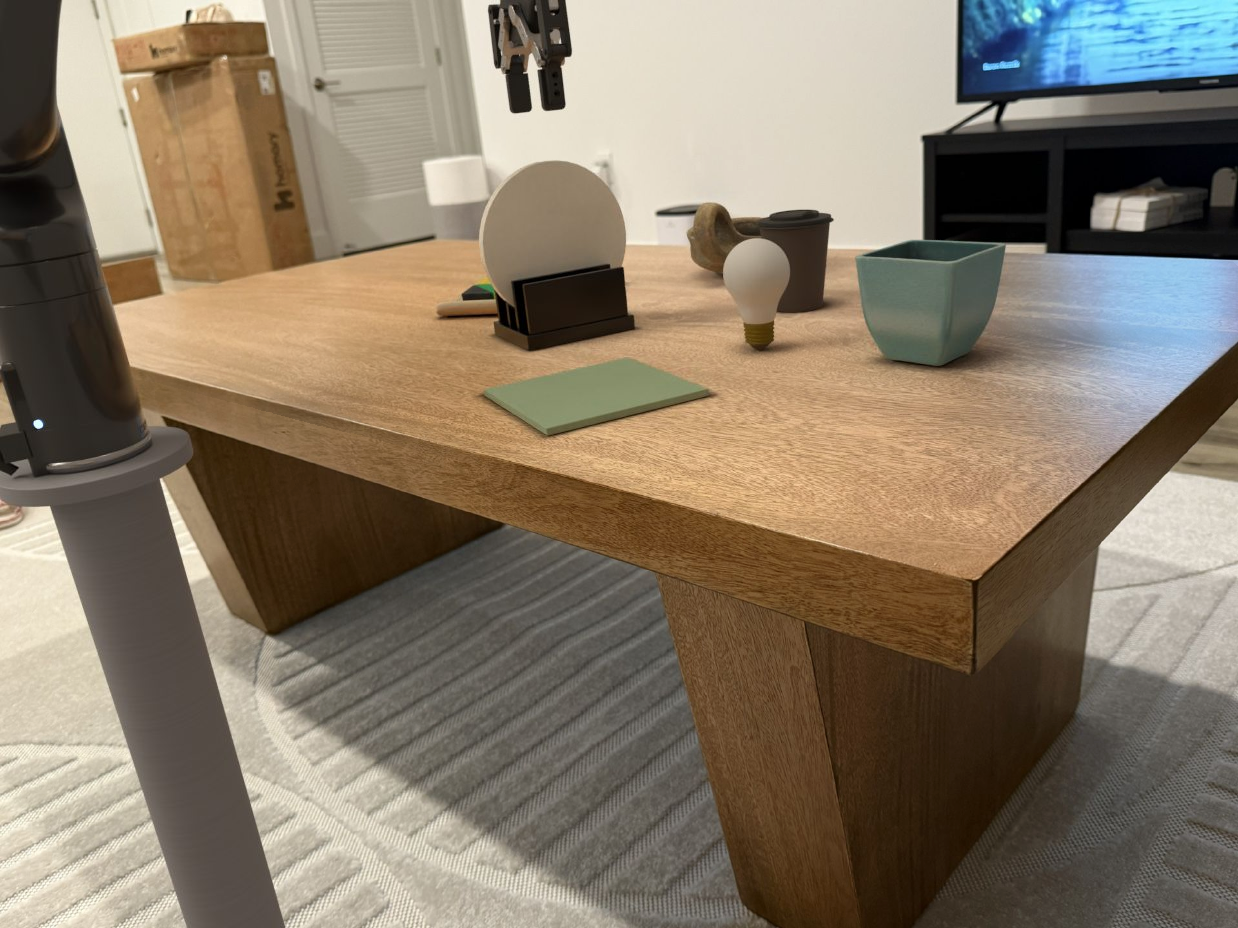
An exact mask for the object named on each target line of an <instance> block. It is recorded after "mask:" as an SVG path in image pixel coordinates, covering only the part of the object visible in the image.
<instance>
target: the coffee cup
mask: <svg viewBox="0 0 1238 928" xmlns="http://www.w3.org/2000/svg"><path fill="white" fill-rule="evenodd" d="M761 218H762V219H759V220H758V223H757V224H756V225H755V226H756V227H757V228H760V234H761V239H766V240H769V241H771V242H773V243H775V244H776V245H778V246H779V247H780V248H781V249H782V250H783V252H784V253H785V255H786V257H787V259H788V262H789V266H790V277H789V282H788V285H787V287H786V289H785V291H784V292H783V294H782V296H781V298H780V300H779V302H778V306H777V310H776V312H781V313H799V312H807V311H808V312H809V311H814V310H817V309H820V308H822V307H823V305H824V296H825V295H824V293H825V284H826V272H827V261H828V250H829V237H830V225H831V223H833V222H834V221H835V219H834V218H833V217H832V214H830V213H827V212H820V211H819V210H817V209H791V210H790V209H789V210H781V211H777V212H773V213H771V214H769V216H765V217H761Z"/></svg>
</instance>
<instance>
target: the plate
mask: <svg viewBox="0 0 1238 928" xmlns="http://www.w3.org/2000/svg"><path fill="white" fill-rule="evenodd" d="M478 234H479V235H478V246H479V247H478V249H479V255H480V260H481V264H482V267H483V271H484V273H485V275H486V276H487V278H488V280H489V282H490V283H491V285H492V286H493V288H494V290H495V291H496V292H497V293H498V294H499V296H500V297H501V298H502V299H503V300H504V301H506V302H507V303H508V304H509V305H511V306H512V307H513V308H515V307H514V299H513V292H512V285H511V281H513V280H518V279H524V278H530V277H535V276H541V275H546V274H552V273H558V272H563V271H569V270H574V269H580V268H586V267H591V266H597V265H602V264H610V268H616V267H623V263H624V260H625V255H626V249H627V229H626V222H625V218H624V214H623V211H622V208H621V206H620V203H619V201H618V200H617V198H616V196H615V194H614V192H613V191H612V190H611V188H610V187H609V186H608V185H607V183H606V182H605V181H604V180H603V179H602V178H601V177H600V176H599V175H597V174H596V173H595V172H593V171H592V170H590V169H588V168H586V167H585V166H582V165H580V164H578V163H574V162H571V161H567V160H557V159H556V160H553V159H552V160H541V161H535V162H533V163H529V164H527V165H524V166H522V167H520V168H519V169H516V170H515V171H513V172H512V173H511V174H509V175H508V176H507V177H506V178H505V179H504V180H502V181H501V182H500V184H499V185H497V187H496V189H495V190H494V191H493V193H492V194H491V196H490V198H489V199H488V201H487V203H486V206H485V208H484V211H483V214H482V217H481V221H480V226H479V233H478Z"/></svg>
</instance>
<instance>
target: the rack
mask: <svg viewBox="0 0 1238 928" xmlns="http://www.w3.org/2000/svg"><path fill="white" fill-rule="evenodd" d="M511 285H512V292H513V299H514V307H515V308H513V307H512V306H511V305H509V304H508V303H507V302H506V301H504V300H503V299H502V298H501V297H500V296H499V294H498V293H497V292H496V291H495V290H494V292H495V299H496V306H497V313H498V314H497V319H498V320H494V321H493V328H494V329H493V330H494V335H495V336H497V337H498V338H501V339H503V340H505V341H508V342H510V343H512V344H514V345H516V346H518V347H520V348H523V349H525V350H527V351H529V352H530V351H536V350H540V349H546V348H550V347H555V346H559V345H564V344H568V343H569V344H570V343H574V342H578V341H582V340H587V339H593V338H596V337H602V336H606V335H612V334H616V333H617V334H618V333H620V332H627V331H631V330H635V329H636V325H635V316H634V314H632V313H629V308H628V299H627V298H628V297H627V289H626V287H627V286H626V277H625V267H624V266H622V267H616V268H610V264H602V265H597V266H591V267H586V268H580V269H574V270H569V271H563V272H558V273H552V274H546V275H541V276H535V277H530V278H524V279H518V280H513V281H511Z"/></svg>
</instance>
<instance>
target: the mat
mask: <svg viewBox="0 0 1238 928" xmlns="http://www.w3.org/2000/svg"><path fill="white" fill-rule="evenodd" d="M483 395H484V396H485V398H487V399H489V400H491V401H492V402H494V403H495V404H497V405H498V406H500V407H502V408H503V409H504V410H506V411H508V412H510V413H511V414H512V415H514V416H516V417H517V418H518V419H520V420H522V421H523V422H524V423H526V424H528V425H530V426H531V427H533V428H534V429H536V430H538V431H539V432H540V433H542V434H544V435H545V436H548V437H549V436H552V435H557V434H560V433H564V432H569V431H572V430H577V429H581V428H584V427H589V426H592V425H597V424H600V423H604V422H609V421H612V420H616V419H617V420H618V419H621V418H625V417H629V416H633V415H638V414H640V413H645V412H648V411H654V410H656V409H661V408H664V407H669V406H674V405H677V404H681V403H686V402H689V401H693V400H697V399H701V398H706V397H709V396H710V390H709V388H708V387H705V386H702V385H700V384H697V383H695V382H693V381H690V380H687V379H684V378H682V377H680V376H677V375H675V374H672V373H669V372H667V371H664V370H662V369H660V368H657V367H655V366H651V365H649V364H646V363H644V362H641V361H639V360H636V359H634V358H631V357H629V356H627V357H623V358H617V359H613V360H609V361H604V362H600V363H595V364H590V365H586V366H582V367H578V368H573V369H568V370H564V371H563V370H562V371H558V372H555V373H551V374H546V375H542V376H536V377H531V378H527V379H524V380H519V381H515V382H510V383H504V384H501V385H497V386H491V387H487V388H484V389H483Z"/></svg>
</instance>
